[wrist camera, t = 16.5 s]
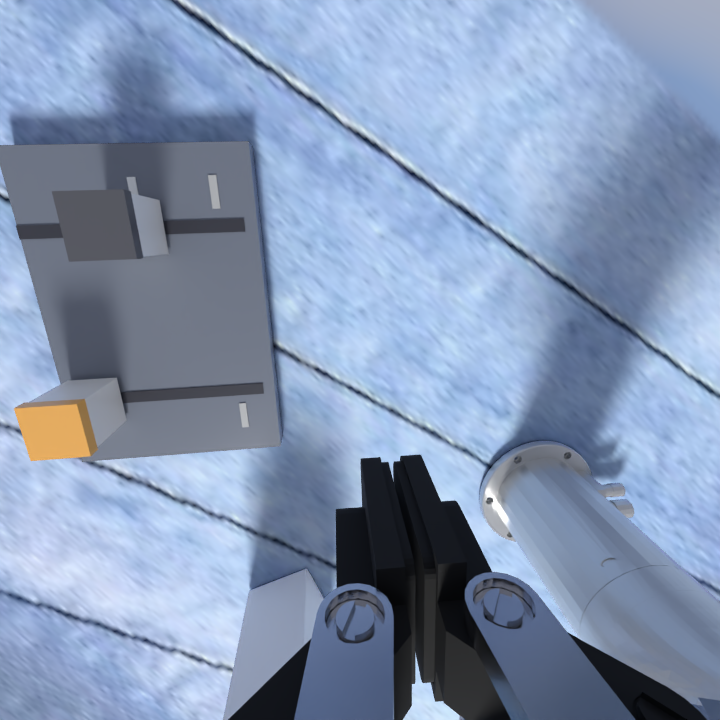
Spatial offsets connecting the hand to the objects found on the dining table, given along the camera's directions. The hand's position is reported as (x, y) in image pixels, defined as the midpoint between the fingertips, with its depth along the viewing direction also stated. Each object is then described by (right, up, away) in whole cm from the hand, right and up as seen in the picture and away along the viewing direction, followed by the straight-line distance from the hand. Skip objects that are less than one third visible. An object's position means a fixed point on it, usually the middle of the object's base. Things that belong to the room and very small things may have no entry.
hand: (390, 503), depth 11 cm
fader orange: (-24, 0, +23) cm, 33 cm away
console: (-18, +8, +24) cm, 31 cm away
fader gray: (-18, +14, +20) cm, 30 cm away
